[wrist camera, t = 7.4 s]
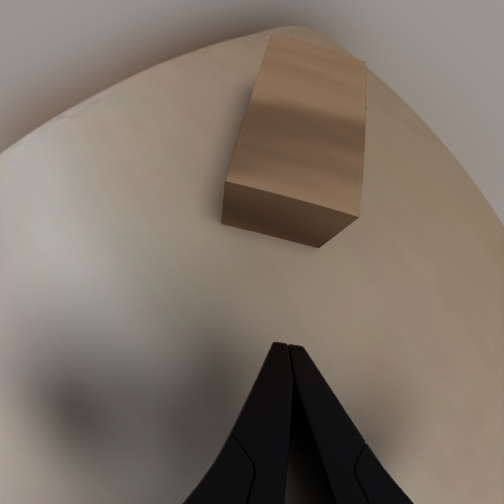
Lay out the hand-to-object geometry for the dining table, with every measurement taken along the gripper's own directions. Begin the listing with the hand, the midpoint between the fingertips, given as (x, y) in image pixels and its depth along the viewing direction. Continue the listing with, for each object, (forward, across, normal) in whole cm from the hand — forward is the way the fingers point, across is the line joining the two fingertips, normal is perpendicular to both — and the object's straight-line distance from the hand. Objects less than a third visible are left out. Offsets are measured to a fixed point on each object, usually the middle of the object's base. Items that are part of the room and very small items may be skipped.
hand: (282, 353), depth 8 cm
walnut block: (+6, 0, -1) cm, 6 cm away
